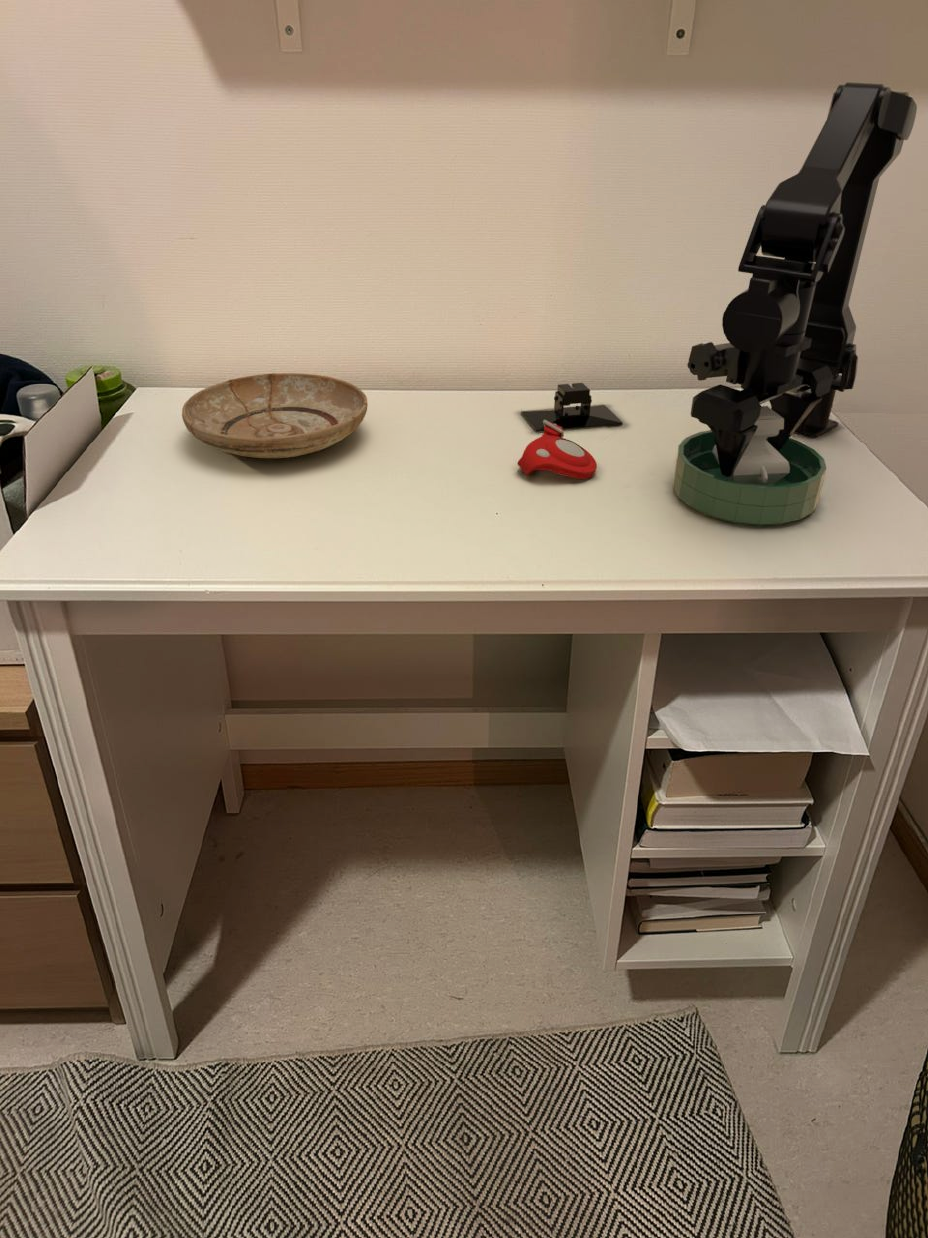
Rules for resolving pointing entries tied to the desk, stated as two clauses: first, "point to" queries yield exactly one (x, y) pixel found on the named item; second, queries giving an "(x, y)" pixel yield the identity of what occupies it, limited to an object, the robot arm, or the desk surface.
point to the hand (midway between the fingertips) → (749, 464)
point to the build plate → (572, 411)
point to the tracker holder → (557, 455)
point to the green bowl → (747, 485)
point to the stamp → (761, 453)
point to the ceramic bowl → (275, 414)
